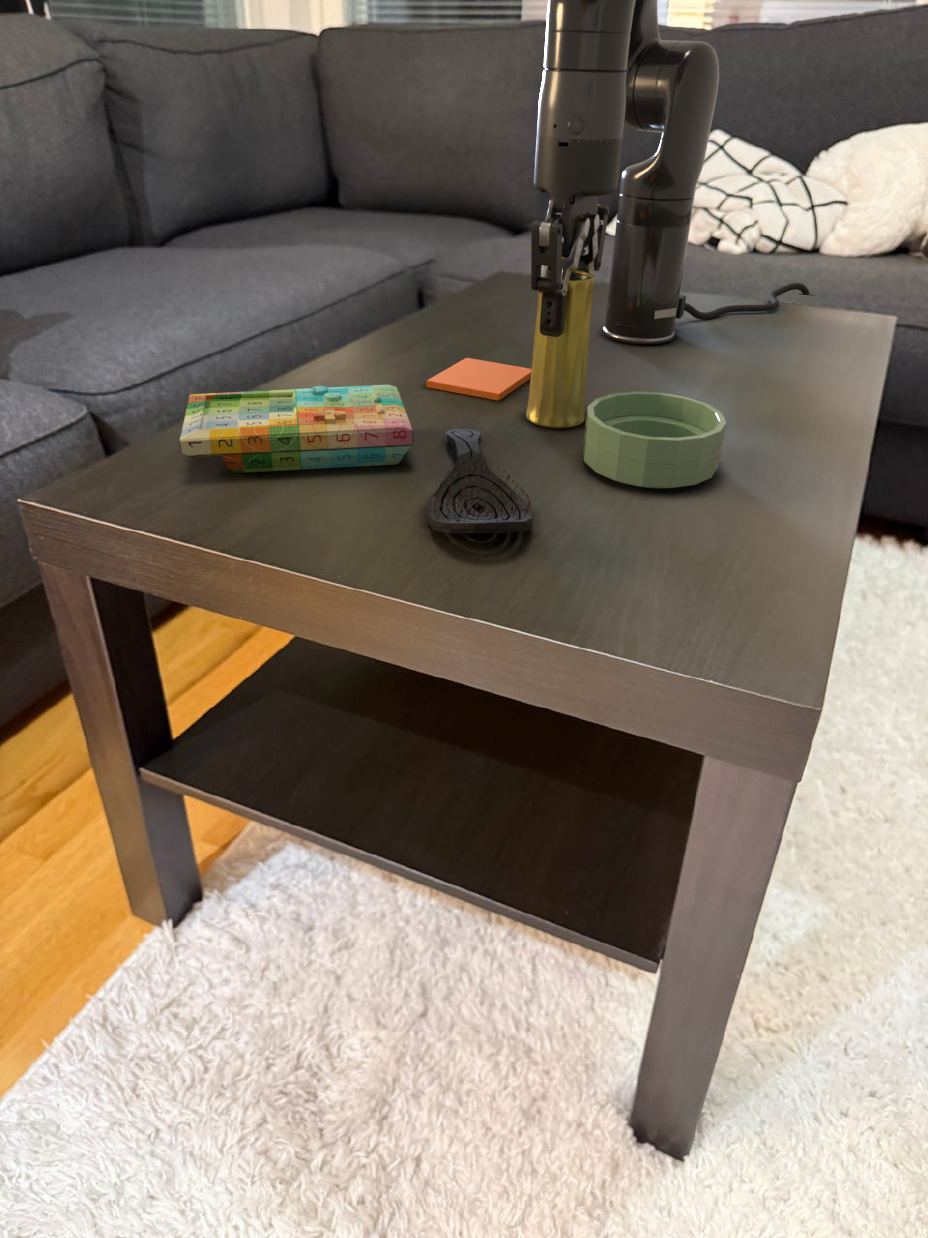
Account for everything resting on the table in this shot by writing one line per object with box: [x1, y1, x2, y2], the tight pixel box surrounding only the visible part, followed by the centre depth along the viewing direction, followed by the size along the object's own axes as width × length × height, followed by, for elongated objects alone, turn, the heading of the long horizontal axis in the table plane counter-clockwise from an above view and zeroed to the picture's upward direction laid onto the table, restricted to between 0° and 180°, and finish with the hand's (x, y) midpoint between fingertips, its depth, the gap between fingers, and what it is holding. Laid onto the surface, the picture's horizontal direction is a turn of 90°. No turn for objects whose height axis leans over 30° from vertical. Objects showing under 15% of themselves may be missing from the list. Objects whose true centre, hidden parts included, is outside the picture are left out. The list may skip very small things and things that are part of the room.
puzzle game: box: [178, 384, 414, 474], centre depth 81 cm, size 12×5×20 cm
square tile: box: [426, 357, 532, 402], centre depth 100 cm, size 10×9×1 cm
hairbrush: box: [427, 428, 534, 534], centre depth 75 cm, size 8×4×25 cm
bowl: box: [582, 390, 727, 489], centre depth 79 cm, size 12×12×5 cm
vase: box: [525, 270, 595, 430], centre depth 87 cm, size 6×6×14 cm
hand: (563, 326), depth 85 cm, fingers open, 5 cm apart
